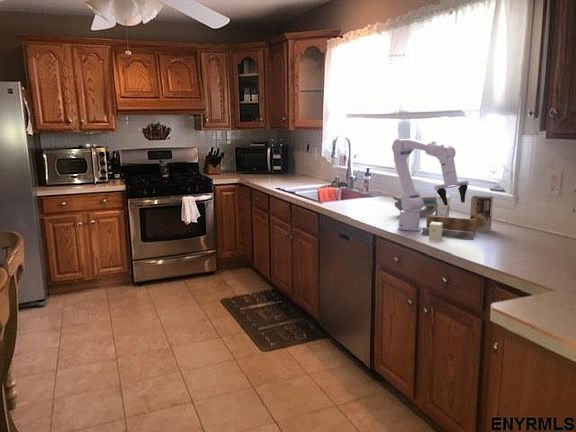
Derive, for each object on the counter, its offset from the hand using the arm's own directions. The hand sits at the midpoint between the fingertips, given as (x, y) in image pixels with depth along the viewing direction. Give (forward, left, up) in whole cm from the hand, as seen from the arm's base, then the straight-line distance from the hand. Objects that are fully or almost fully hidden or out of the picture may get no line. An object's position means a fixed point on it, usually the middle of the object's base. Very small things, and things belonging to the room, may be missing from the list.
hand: (454, 203), depth 207 cm
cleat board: (-3, +8, -16) cm, 18 cm away
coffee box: (+9, +24, -16) cm, 30 cm away
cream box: (-7, -2, -16) cm, 18 cm away
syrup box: (-10, +31, -16) cm, 36 cm away
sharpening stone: (-26, +45, -16) cm, 55 cm away
